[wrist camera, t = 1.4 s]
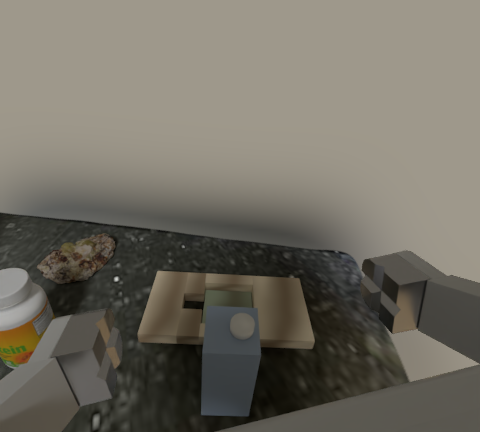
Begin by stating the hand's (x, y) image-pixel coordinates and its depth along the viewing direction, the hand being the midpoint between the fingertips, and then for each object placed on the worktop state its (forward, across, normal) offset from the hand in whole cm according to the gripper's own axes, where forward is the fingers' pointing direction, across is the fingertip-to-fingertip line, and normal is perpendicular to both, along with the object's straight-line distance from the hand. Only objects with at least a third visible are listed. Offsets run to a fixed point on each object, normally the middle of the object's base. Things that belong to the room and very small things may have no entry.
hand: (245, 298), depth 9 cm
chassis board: (+23, 0, +20) cm, 30 cm away
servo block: (+13, +1, +22) cm, 25 cm away
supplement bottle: (+20, +21, +18) cm, 34 cm away
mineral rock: (+34, +19, +16) cm, 42 cm away
